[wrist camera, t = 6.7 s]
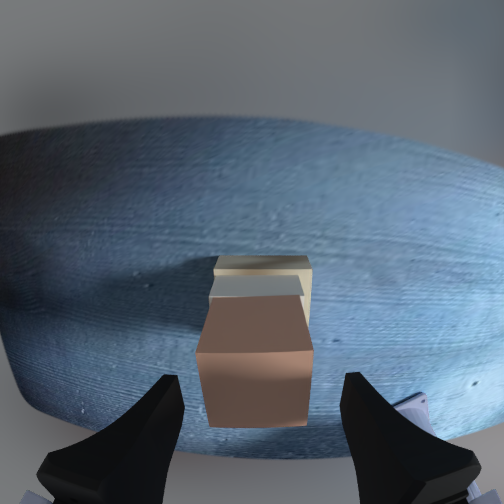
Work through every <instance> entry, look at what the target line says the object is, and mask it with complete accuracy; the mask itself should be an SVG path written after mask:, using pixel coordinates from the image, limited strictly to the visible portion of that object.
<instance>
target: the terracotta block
mask: <svg viewBox="0 0 504 504" xmlns="http://www.w3.org/2000/svg"><path fill="white" fill-rule="evenodd" d="M313 352H314V350H313V346H312V342H311V338H310V334H309V330H308V326H307V322H306V318H305V314H304V310H303V307H302V303H301V299H300V295H280V296H249V297H213V299H212V302H211V305H210V308H209V311H208V314H207V317H206V321H205V324H204V327H203V330H202V333H201V336H200V340H199V343H198V346H197V349H196V352H195V354H196V359H197V365H198V371H199V376H200V382H201V387H202V392H203V397H204V402H205V407H206V412H207V417H208V422H209V426H210V427H220V428H271V427H293V426H307V418H308V409H309V399H310V389H311V378H312V365H313Z"/></svg>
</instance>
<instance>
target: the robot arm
mask: <svg viewBox="0 0 504 504" xmlns="http://www.w3.org/2000/svg"><path fill="white" fill-rule="evenodd" d="M184 409H185V406H184V402H183V398H182V393H181V389H180V385H179V380H178V376H177V375H167V374H164V375H163V376H162V377H161V378H160V379H159V380H158V381H157V382H156V383H155V384H154V385H153V386H152V388H151V389H150V390H149V391H148V392H147V393H146V394H145V395H144V396H143V397H142V398H141V399H140V400H139V401H138V402H137V403H136V404H135V405H134V406H132V407H131V408H130V409H129V410H128V411H127V412H126V413H124V414H123V415H122V416H121V417H120V418H118V419H117V420H116V421H114V422H113V423H112V424H110V425H109V426H107V427H106V428H104V429H103V430H101V431H99V432H97V433H96V434H94V435H92V436H90V437H89V438H87V439H85V440H83V441H80V442H78V443H76V444H73V445H71V446H68V447H66V448H63V449H60V450H56V451H53V452H50V453H48V455H47V456H46V458H45V459H44V461H43V463H42V464H41V466H40V468H39V470H38V472H37V474H36V475H37V478H38V480H39V481H40V483H41V484H42V485H43V486H44V487H45V488H46V489H47V490H48V491H49V492H50V494H51V495H53V496H54V498H55V500H54V502H53V503H52V502H50V501H49V500H47V499H45V498H43V497H41V496H39V495H37V494H35V493H33V492H31V491H29V490H26V492H25V494H24V496H23V498H22V500H21V502H20V504H162V503H163V496H164V489H165V483H166V478H167V472H168V468H169V465H170V461H171V458H172V455H173V452H174V449H175V446H176V443H177V439H178V436H179V433H180V430H181V427H182V421H183V415H184ZM340 412H341V419H342V425H343V428H344V432H345V435H346V438H347V442H348V445H349V448H350V452H351V455H352V458H353V461H354V466H355V470H356V475H357V482H358V489H359V497H360V504H502V502H501V500H500V498H499V495H498V493H497V491H496V489H493V490H491V491H489V492H487V493H485V494H483V495H481V493H480V491H479V488H478V487H477V484H476V482H475V481H474V480H475V479H476V477H477V476H478V475H479V473H480V471H481V465H480V463H479V461H478V459H477V458H476V456H475V454H474V452H473V451H471V450H468V449H465V448H462V447H458V446H456V445H453V444H451V443H448V442H446V441H444V440H441V439H439V438H437V436H436V434H435V432H434V430H433V428H432V426H431V424H430V418H429V409H428V400H427V395H426V393H421V394H419V395H417V396H415V397H413V398H411V399H409V400H407V401H405V402H403V403H401V404H398V405H396V406H394V407H393V406H391V405H390V404H389V403H388V402H387V401H386V400H385V399H384V398H383V397H382V396H381V395H380V394H379V393H378V392H377V391H376V390H375V388H374V387H373V386H372V385H371V384H370V383H369V382H368V381H367V380H366V379H365V377H364V376H363V375H362V374H361V373H360V372H353V373H346V375H345V380H344V386H343V391H342V396H341V401H340Z"/></svg>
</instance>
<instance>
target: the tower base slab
mask: <svg viewBox="0 0 504 504" xmlns="http://www.w3.org/2000/svg"><path fill="white" fill-rule="evenodd" d="M216 275H299V279H300V282H301V285H302V289H303V292H304V296H305V297H304V314H305V318H306V322H307V326H308V325H309V312H310V299H311V285H312V267H311V265H310V262H309V260H308V257H307V256H219V258H218V260H217V262H216V265H215V267H214V280H215V277H216Z"/></svg>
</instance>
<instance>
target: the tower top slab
mask: <svg viewBox="0 0 504 504" xmlns="http://www.w3.org/2000/svg"><path fill="white" fill-rule="evenodd" d="M280 295H300V299H301V303H302V307H303V310H304V297H305V296H304V292H303V289H302V285H301V282H300V279H299V275H216V277H215V280H214V283H213V286H212V288H211V291H210V294H209V307H210V305H211V302H212V299H213V297H249V296H280Z"/></svg>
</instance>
